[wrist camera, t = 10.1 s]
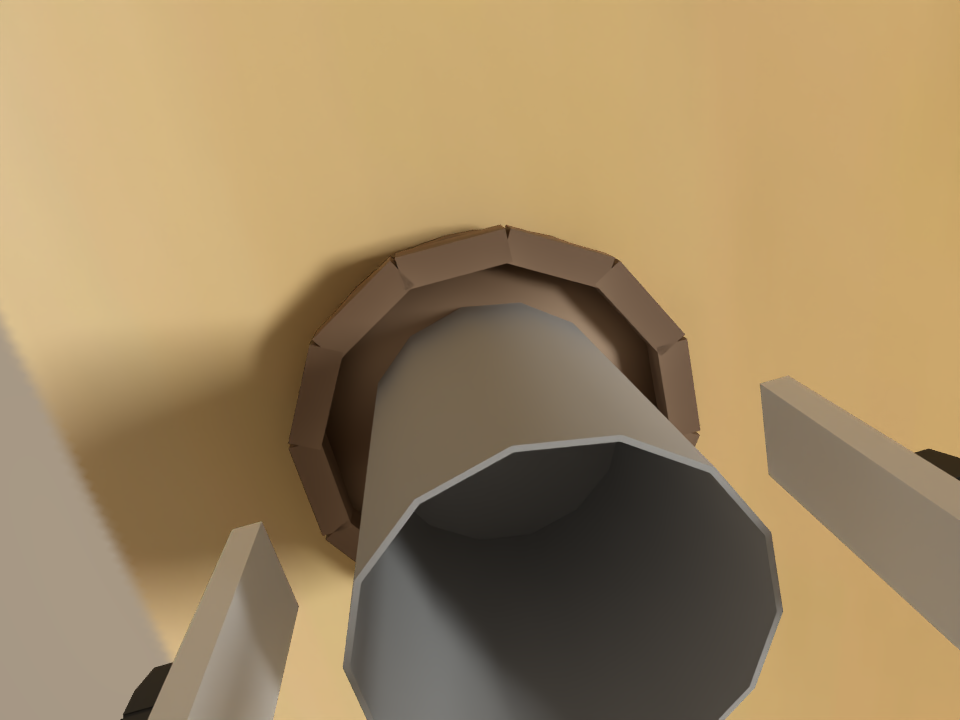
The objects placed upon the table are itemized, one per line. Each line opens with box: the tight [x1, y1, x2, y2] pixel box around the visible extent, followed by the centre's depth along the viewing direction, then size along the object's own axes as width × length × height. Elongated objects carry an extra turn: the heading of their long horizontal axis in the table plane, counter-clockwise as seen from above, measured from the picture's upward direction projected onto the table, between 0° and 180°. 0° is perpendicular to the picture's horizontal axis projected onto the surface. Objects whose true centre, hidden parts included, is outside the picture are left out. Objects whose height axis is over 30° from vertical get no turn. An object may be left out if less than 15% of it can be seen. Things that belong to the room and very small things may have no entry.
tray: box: [288, 225, 700, 562], centre depth 21 cm, size 13×13×2 cm
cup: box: [343, 302, 783, 720], centre depth 17 cm, size 8×8×10 cm
